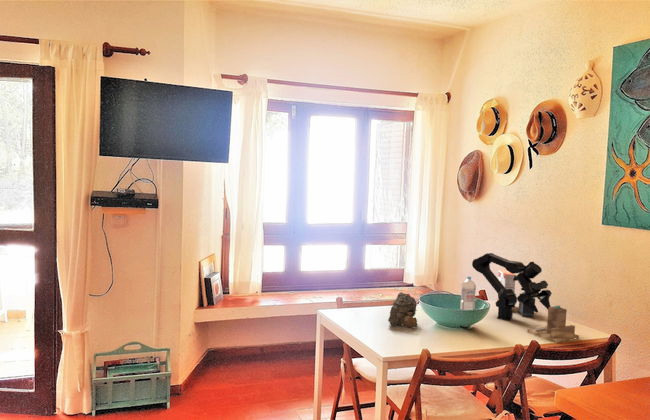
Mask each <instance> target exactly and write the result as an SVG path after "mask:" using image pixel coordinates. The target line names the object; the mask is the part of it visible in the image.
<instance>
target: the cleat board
mask: <svg viewBox="0 0 650 420" xmlns="http://www.w3.org/2000/svg"><path fill="white" fill-rule="evenodd" d="M526 330H527V331H526V333H528V334H530V335H534V336H536V337H539V338H541V337H542V339H544V338H545V339H544V340H547V339H548V340H547V341H549V340H551V341H550V342H552V341H554V342H553V343H555V342H558V343H561V342H560V341H563V342H566V341H565V340H569V341H571V340H570V339H574V338H580V335H579V334H576V333H575V330H576V325H574V324H573V325H572V324H569V325H565V326H563V327H557V328H551V332H550V333H548V332H547V325H545V326H540V327H539V326H538V327H532V328H527V329H526ZM574 340H575V339H574Z"/></svg>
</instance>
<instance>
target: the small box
mask: <svg viewBox="0 0 650 420" xmlns="http://www.w3.org/2000/svg"><path fill="white" fill-rule="evenodd" d="M533 302H534V304H535V305H536V298H533ZM517 312H518V313H519V314H520V316H522V317H525V318H534V317H535V311H533V310H532V309H530V308H529V307H527V306H526V305H524V304H522V302H521V303H519V302H518V311H517Z"/></svg>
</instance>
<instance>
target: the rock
mask: <svg viewBox="0 0 650 420" xmlns="http://www.w3.org/2000/svg"><path fill="white" fill-rule="evenodd" d="M417 306H418V304H417V301H416V299H415V297H413V296H411V295H409V294H407V293H404V292H399V293H398V294H397V296H396V298H395V300H394V301H393V303H392V306H391V307H390V311H389V317H388V319H387V322H388V323H389V325H390V326H396V325H398V324H400V325H402V326H403V325H404V326H403V327H406V326H407V327H406V328H409V327H415V328H417V327H418V319H417V317H415V315H416V312H417V311H418V310H417ZM393 324H394V325H393Z"/></svg>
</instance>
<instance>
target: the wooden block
mask: <svg viewBox="0 0 650 420" xmlns="http://www.w3.org/2000/svg"><path fill="white" fill-rule="evenodd" d="M546 320H547V321H546V326H547V332H548V333H550V332H551V328H557V327H563V326H567V325H566V324H567V323H566V321H567V308H563V307H561V305H560V304H559V305H554V306H551V307H548V309H547V319H546Z"/></svg>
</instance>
